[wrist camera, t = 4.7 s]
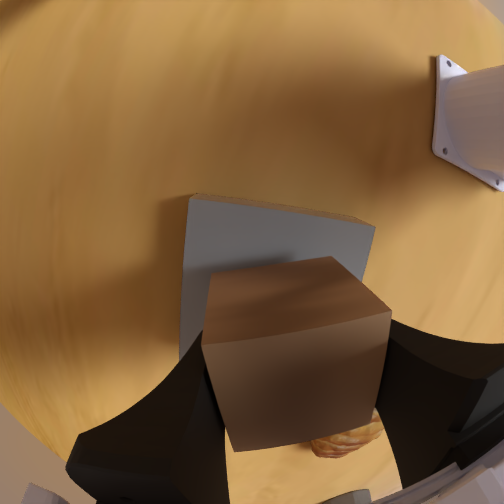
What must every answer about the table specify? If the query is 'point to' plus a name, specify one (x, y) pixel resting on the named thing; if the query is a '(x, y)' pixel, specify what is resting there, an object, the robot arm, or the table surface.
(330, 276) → the walnut cube
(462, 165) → the robot arm
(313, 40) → the table surface
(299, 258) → the block
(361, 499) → the coffeepot
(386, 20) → the table surface
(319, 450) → the pastry
